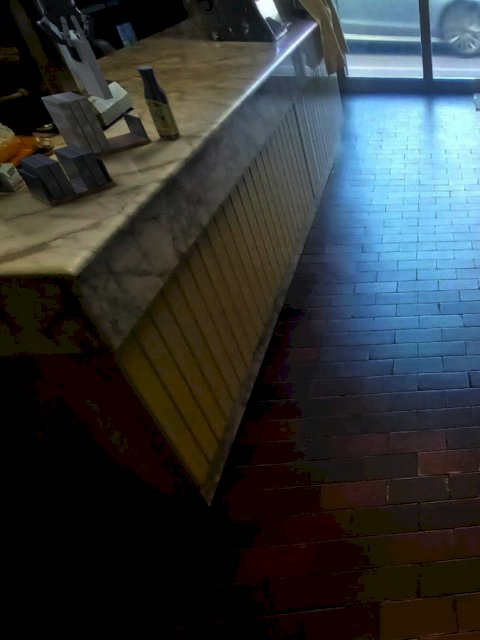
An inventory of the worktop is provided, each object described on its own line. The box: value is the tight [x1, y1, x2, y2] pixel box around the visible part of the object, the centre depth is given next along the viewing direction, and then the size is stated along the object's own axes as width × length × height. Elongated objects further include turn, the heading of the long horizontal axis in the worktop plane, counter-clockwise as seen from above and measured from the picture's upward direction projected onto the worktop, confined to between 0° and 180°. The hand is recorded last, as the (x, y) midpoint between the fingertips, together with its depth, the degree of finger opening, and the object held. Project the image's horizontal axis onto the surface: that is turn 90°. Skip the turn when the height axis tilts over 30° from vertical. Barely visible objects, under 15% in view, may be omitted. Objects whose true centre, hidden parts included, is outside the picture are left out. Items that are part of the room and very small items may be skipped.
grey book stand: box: [40, 91, 152, 158], centre depth 152 cm, size 20×10×15 cm, turn 148°
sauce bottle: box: [136, 65, 181, 141], centre depth 158 cm, size 7×6×20 cm
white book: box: [65, 36, 114, 101], centre depth 145 cm, size 2×9×14 cm, turn 58°
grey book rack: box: [16, 145, 117, 207], centre depth 132 cm, size 16×10×9 cm, turn 148°
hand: (84, 60), depth 144 cm, fingers closed on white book, 2 cm apart
